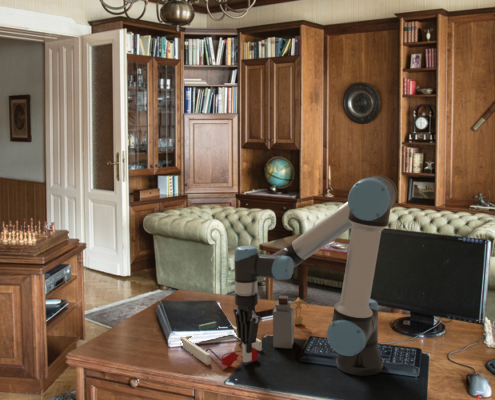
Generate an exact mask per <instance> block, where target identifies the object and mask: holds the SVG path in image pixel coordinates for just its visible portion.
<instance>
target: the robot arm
mask: <svg viewBox="0 0 495 400" xmlns="http://www.w3.org/2000/svg"><path fill="white" fill-rule="evenodd" d="M397 199H398V189H397V186H396V184H395V183H394V182H393V180H391V179H390V178H389V177H388V176H384V175H381V174H380V175H379V174H377V175H372V176H369V177H365V178H362V179H359V180H358V181H357V182H356V183H355V184H353V186H352V187H351V189H350V190H349V192H348V195H347V201H346V202H345V203H344V204H342V205H341V206H340V207H338V208H337V209H336V210H334V211H333V212H331V213H329V215H327V216H326V217H324V218H323V219H321V220H320V221H319V222H318V223H316V224H314V225H313V226H312V227H311V228H309V229H308V230H306V231H305V232H304V233H303V234H301V235H300V236H298V237H296V239H294V240H293V241H291V242H290V243H288V244H287V245H286V246H284V247H283V248H281V249H280V250H278V251H276V252H275V253H272V254H267V253H266V254H265V253H258V248H257V247H256V246H254V245H240V246H238V247H236V248H235V250H234V260H233V262H234V292H235V294H234V303H235V305H236V306H237V308H234V309H233V314H234V318H235V319H234V320H235V327H237V334H238V338H240V339H241V340H240V342H241V343H242V344H241V348H242V351H241V353H242V355H241V356H242V357H243V359H242V362H244V363H248V362H253V361H252V349H253V347H252V343H255V342H256V338H257V336H258V329H259V324H260V321H261V317H260V316H258V315H256V314H257V311H256V309H255V308H256V306H257V305H258V303H259V301H258V300H259V299H258V296H259V295H258V293H257V292H258V278H264V279H265V278H267V279H272V280H273V279H274V280H281V281H282V280H284V281H285V280H290V279H291V278H292V277H293V276H292V275H293V274H294V268H296V267H298V266H299V265H300V264H302V263H303V262H304V261H306V260H307V259H308V258H310V257H311V256H313V255H314V254H316V253H317V252H319V251H320V250H321V249H322V248H324V247H325V246H327V245H329V244H330V243H332V242H333V241H335V240H336V239H337V238H338V237H340V236H342V235H343V234H345V233H346V232H347V231H349V230H351V234H350V238H349V244H348V250H347V251H348V252H347V256H346V257H347V259H346V263H345V270H344V276H343V283H342V289H341V295H340V301H338V302H337V303H335V304H334V306H333V313H332V319H331V323H330V324H329V325H328V327H327V331H326V340H327V342H328V345H329V346H330V347H331V349H333V351H335V352H336V353H337V356H336V364H337V365H336V368H337V369H338V370H340V371H341V372H343V373H345V374H349V375H353V376H358V377H359V376H364V377H365V376H366V377H367V376H374V375H377V374H380V373H381V372H382V371H383V369H382V368H384V361H383V358H382V356H381V355H382V354H381V351H380V348H379V345H378V344H379V342H378V341H379V340H378V339H379V310H380V309H379V304H378V301H376V300H375V299H372V298H371V296H372V295H371V294H372V289H373V283H374V278H375V272H376V265H377V260H378V253H379V247H380V241H381V237H382V236H381V235H382V231H383V230H384V229H386V228H387V227H388V225H389V221H390V214H391V209H392V208H393V206H394V205H395V204H396V202H397ZM257 339H258V338H257Z"/></svg>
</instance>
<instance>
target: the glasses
mask: <svg viewBox="0 0 495 400" xmlns="http://www.w3.org/2000/svg"><path fill="white" fill-rule="evenodd" d="M238 346H242V342H240V343H239V344H238ZM205 351H206V352H207V353H208V351H210V352H211V353H212V354H213V355H214V356H215V357H216V358H218V360H219V361H220V362H221V365H224V366H226V367H228V368H229V367H231V366H232V365H233V364H234V363H235V362H236V361H237V360H238V357H239V356H240V355H239V354H237V353H238V352H239V353H240V352H242V350H237V351H236V350H235V351H232V352H227V353H225V354H223V355H222V357H221V358H220V357H219V356H218V355H217V354H216V353H215V352H214V351H213V350H212V349H211V348H207V349H206V350H205ZM259 356H260V354H259V353H258V350H256V349H255V348H252V361H251V362H256V361H257V359H258V358H259ZM240 357H241V358H242V360H243V356H242V355H241V356H240Z"/></svg>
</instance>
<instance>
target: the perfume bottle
mask: <svg viewBox="0 0 495 400" xmlns="http://www.w3.org/2000/svg"><path fill="white" fill-rule="evenodd" d="M292 302H293V301H292V300H289V295H279V296H278V300H276V302H275V303H274V305H275V306H274V309H273V310H272V344H273V345H272V347H273V348H277V349H278V348H279V349H293V345H294V344H295V343H294V342H295V327H294V326H295V323H294V316H295V306H292V304H291V303H292Z"/></svg>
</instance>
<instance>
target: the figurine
mask: <svg viewBox="0 0 495 400" xmlns="http://www.w3.org/2000/svg"><path fill="white" fill-rule="evenodd" d="M293 304H296V305H295V306H294V325H297V326H298V325H301V324H303V320H304V319H303V317H302V315H301V313H302V308H303V306H302V305H301V304H305V305H306V307H307V309H309V305H308V303H307V302H305V301H303V300H301V298H300V297H299V296H298V297H297V298H296V300H294V301H292V302H291V305H293ZM297 310H299V311H297ZM298 313H299V314H298Z"/></svg>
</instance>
